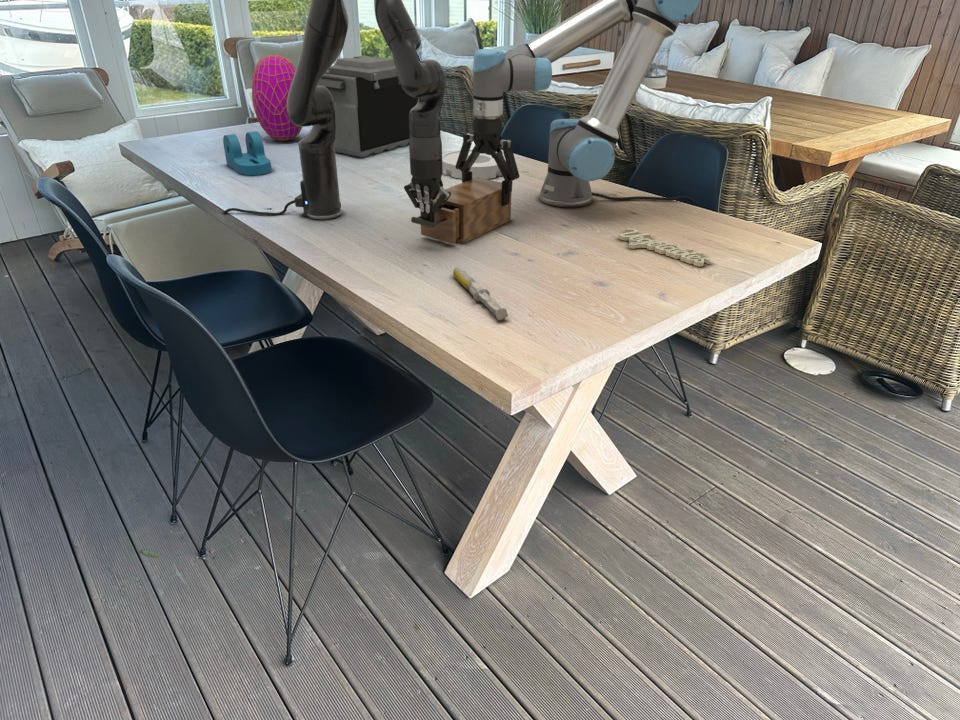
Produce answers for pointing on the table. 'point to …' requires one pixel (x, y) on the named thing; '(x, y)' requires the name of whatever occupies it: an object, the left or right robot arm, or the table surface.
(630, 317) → the table surface
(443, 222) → the drawer
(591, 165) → the right robot arm
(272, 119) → the decorative egg
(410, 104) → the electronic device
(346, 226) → the table surface
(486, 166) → the ashtray
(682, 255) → the decorative sign
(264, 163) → the camera mount
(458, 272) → the syringe
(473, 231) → the cabinet
